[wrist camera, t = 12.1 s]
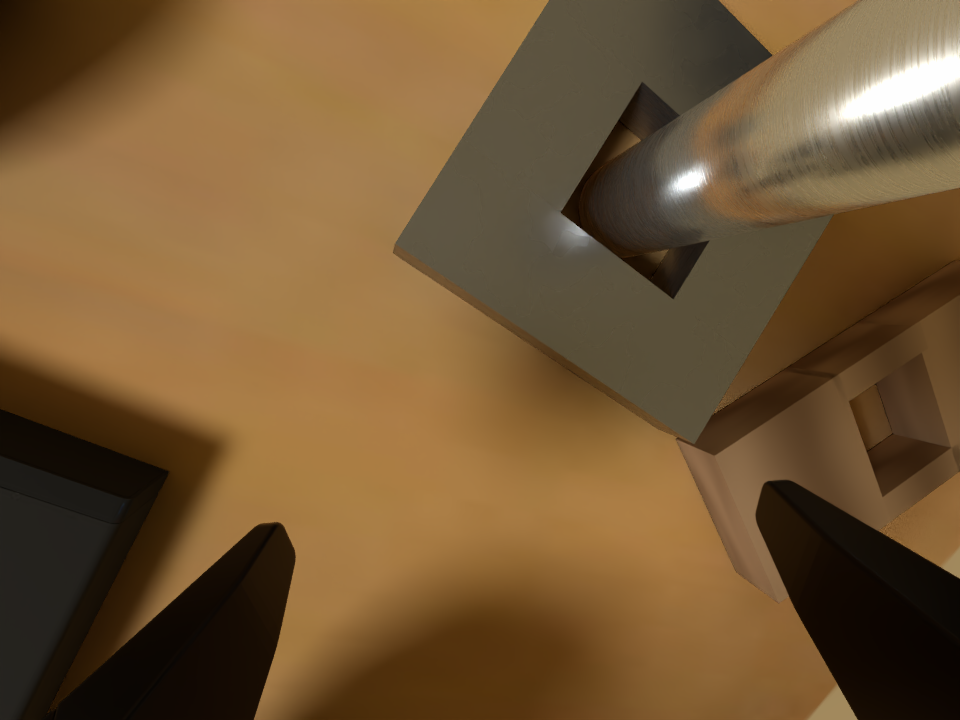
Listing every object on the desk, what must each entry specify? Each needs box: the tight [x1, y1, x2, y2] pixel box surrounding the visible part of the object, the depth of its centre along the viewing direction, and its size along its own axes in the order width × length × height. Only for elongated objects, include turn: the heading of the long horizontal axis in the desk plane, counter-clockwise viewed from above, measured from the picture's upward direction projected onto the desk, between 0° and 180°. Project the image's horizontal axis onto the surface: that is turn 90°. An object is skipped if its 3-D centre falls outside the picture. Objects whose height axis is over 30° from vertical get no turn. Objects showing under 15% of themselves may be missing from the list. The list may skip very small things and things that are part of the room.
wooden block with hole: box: [676, 260, 960, 603], centre depth 22 cm, size 18×8×2 cm, turn 118°
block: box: [393, 0, 834, 444], centre depth 18 cm, size 14×14×2 cm
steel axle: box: [579, 0, 960, 258], centre depth 13 cm, size 4×4×13 cm
